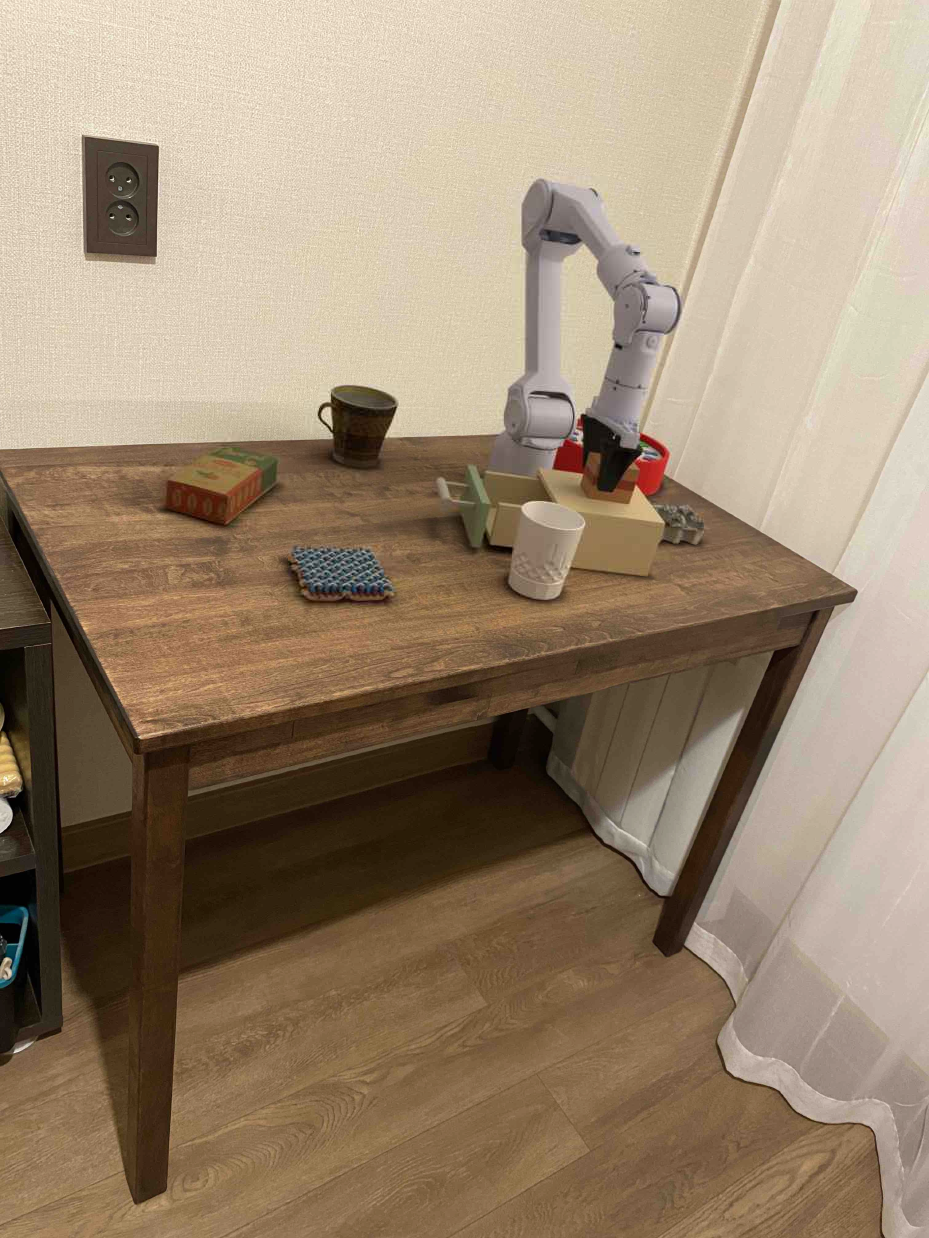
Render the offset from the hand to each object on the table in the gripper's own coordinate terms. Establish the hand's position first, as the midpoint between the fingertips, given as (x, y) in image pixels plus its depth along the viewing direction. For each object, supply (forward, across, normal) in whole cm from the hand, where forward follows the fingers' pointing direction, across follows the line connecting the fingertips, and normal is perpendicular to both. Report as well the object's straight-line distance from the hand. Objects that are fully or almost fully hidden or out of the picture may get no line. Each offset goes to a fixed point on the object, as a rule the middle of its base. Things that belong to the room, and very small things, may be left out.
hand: (596, 479), depth 123 cm
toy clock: (+10, -32, +14) cm, 36 cm away
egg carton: (+10, -9, +16) cm, 21 cm away
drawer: (+9, 0, -12) cm, 15 cm away
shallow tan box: (+10, 0, +1) cm, 10 cm away
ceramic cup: (+10, -20, -32) cm, 39 cm away
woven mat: (+10, +18, -34) cm, 40 cm away
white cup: (+10, +14, -10) cm, 20 cm away
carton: (+10, -2, -48) cm, 50 cm away
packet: (+2, 0, +2) cm, 3 cm away
